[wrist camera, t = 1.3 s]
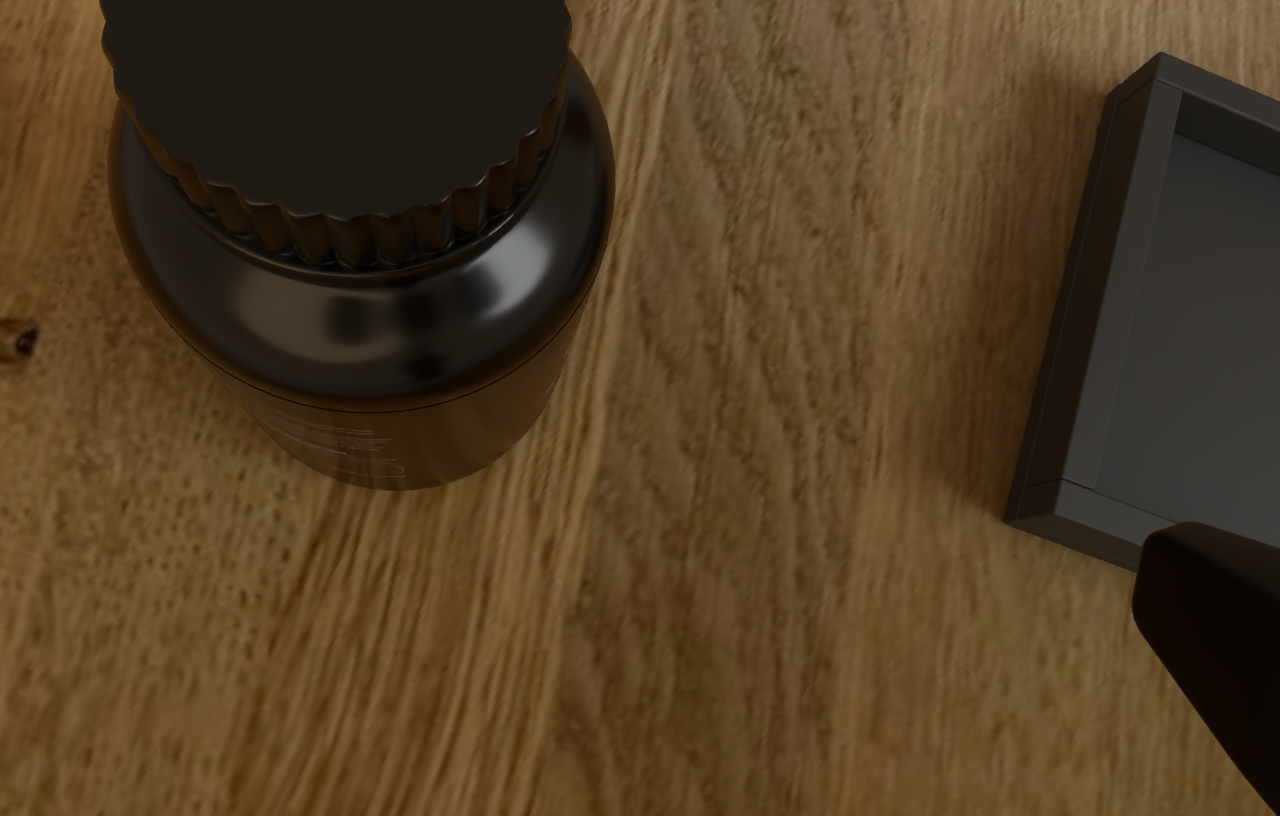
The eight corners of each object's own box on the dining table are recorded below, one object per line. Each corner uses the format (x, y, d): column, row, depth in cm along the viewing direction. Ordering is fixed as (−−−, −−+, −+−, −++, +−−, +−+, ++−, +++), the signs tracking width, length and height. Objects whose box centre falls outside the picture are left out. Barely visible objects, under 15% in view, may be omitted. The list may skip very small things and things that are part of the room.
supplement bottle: (623, 383, 23) (792, 132, 11) (348, 559, 21) (215, 475, 10) (452, 131, 23) (446, -358, 12) (170, 282, 22) (-161, -116, 10)
